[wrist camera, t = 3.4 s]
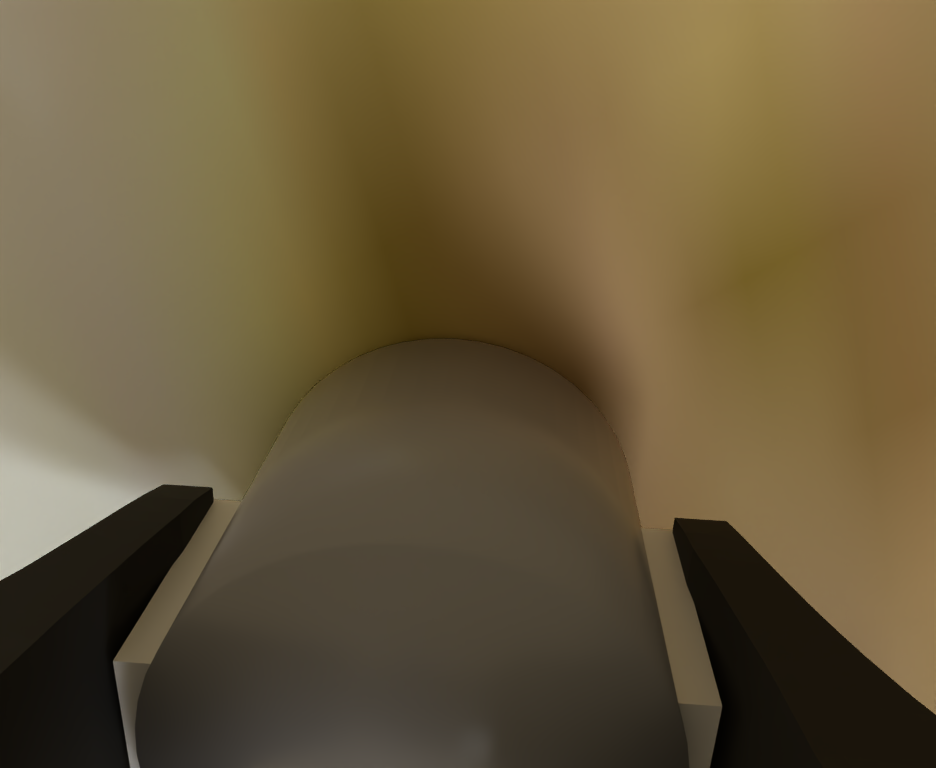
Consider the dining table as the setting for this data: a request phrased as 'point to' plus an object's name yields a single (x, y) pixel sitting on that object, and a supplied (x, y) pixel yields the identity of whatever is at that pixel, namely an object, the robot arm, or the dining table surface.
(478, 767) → the cap
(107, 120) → the dining table surface
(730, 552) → the robot arm
